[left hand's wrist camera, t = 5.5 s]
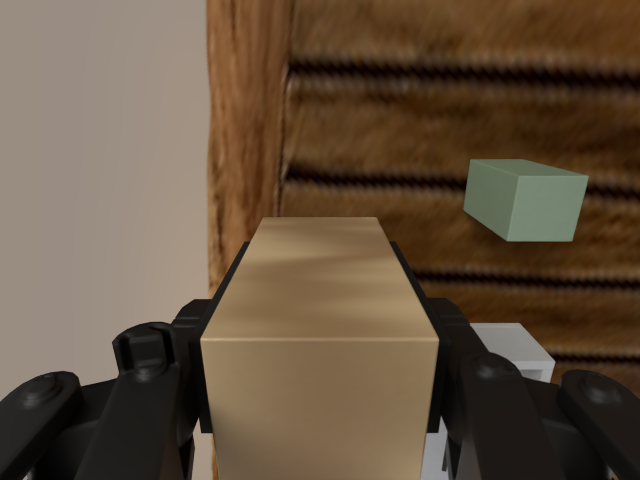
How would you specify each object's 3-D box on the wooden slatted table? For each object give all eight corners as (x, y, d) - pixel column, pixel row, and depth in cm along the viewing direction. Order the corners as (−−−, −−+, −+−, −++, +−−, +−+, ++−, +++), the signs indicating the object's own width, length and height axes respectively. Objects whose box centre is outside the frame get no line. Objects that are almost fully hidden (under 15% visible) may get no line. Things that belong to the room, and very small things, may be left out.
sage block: (523, 159, 30) (589, 175, 23) (513, 210, 32) (572, 241, 24) (470, 159, 30) (519, 175, 23) (462, 210, 32) (506, 241, 24)
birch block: (376, 216, 14) (441, 339, 7) (371, 315, 16) (418, 504, 8) (263, 216, 14) (198, 339, 7) (268, 315, 16) (221, 505, 8)
